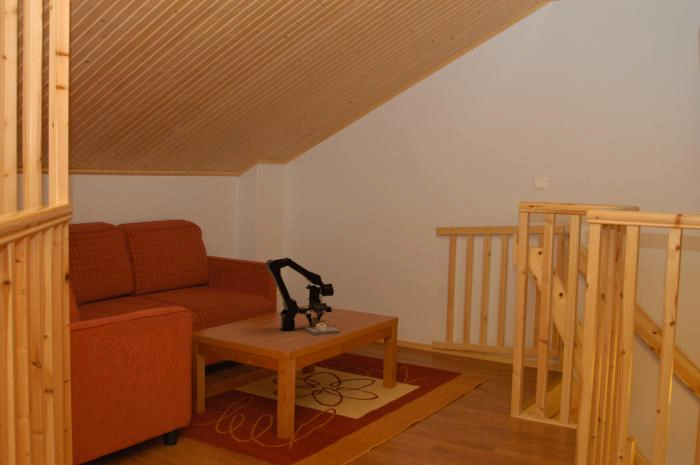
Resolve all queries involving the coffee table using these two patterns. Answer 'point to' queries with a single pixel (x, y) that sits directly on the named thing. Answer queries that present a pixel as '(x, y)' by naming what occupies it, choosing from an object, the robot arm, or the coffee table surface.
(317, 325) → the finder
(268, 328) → the coffee table surface
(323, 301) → the figurine
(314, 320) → the wooden knobbed box
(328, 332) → the board
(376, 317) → the coffee table surface
